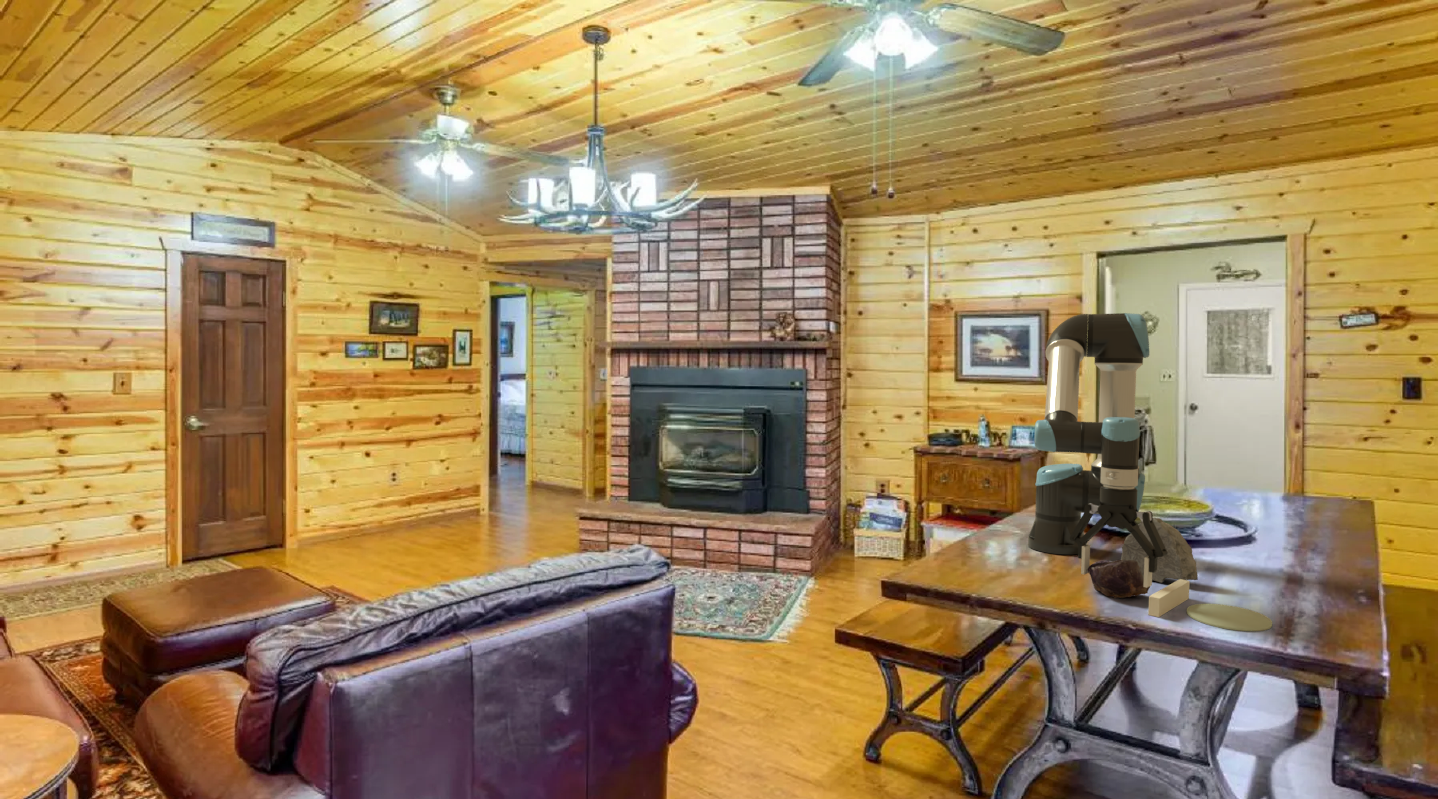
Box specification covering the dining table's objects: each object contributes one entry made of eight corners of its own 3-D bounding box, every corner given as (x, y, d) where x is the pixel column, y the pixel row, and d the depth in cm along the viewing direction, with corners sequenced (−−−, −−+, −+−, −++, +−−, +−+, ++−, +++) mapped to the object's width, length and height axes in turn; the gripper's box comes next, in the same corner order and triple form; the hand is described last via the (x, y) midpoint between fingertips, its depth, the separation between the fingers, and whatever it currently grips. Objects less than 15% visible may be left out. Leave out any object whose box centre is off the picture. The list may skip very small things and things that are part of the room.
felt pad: (1175, 617, 167) (1176, 614, 167) (1200, 601, 177) (1200, 599, 177) (1260, 637, 156) (1260, 634, 156) (1281, 619, 166) (1281, 616, 166)
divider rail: (1148, 614, 169) (1149, 596, 169) (1179, 596, 181) (1179, 579, 181) (1158, 617, 168) (1159, 598, 167) (1188, 598, 180) (1189, 581, 179)
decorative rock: (1117, 575, 197) (1119, 515, 196) (1127, 570, 202) (1129, 511, 201) (1190, 590, 185) (1193, 526, 184) (1200, 584, 190) (1202, 521, 189)
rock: (1103, 591, 189) (1082, 599, 183) (1099, 554, 190) (1078, 561, 183) (1155, 595, 180) (1135, 603, 174) (1150, 557, 181) (1130, 564, 174)
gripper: (1056, 481, 187) (1053, 571, 188) (1173, 495, 168) (1169, 595, 169) (1070, 477, 192) (1068, 565, 193) (1185, 491, 173) (1182, 588, 174)
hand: (1115, 579), depth 181 cm, fingers open, 13 cm apart
